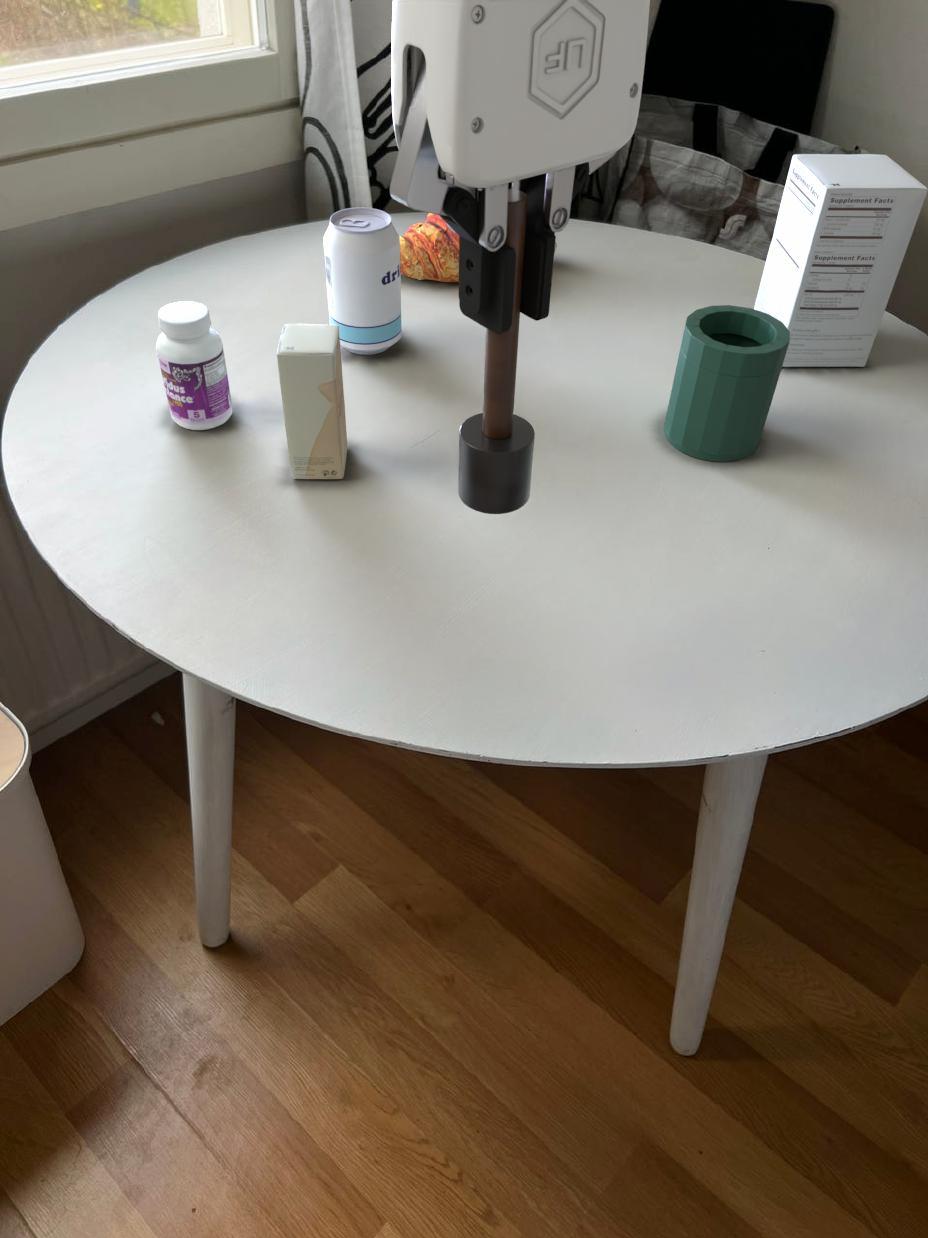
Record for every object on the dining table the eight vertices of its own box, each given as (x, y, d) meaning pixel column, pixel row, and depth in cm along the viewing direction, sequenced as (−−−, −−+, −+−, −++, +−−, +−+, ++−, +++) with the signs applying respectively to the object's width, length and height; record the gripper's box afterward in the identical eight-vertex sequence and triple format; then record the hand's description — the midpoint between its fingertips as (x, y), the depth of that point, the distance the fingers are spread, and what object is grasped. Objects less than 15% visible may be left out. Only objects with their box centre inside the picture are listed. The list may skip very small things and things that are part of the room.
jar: (739, 407, 84) (767, 303, 77) (772, 459, 78) (806, 351, 71) (652, 412, 83) (673, 306, 76) (679, 464, 77) (704, 355, 70)
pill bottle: (158, 423, 79) (133, 318, 72) (194, 394, 83) (173, 291, 76) (212, 438, 78) (192, 332, 71) (245, 407, 81) (229, 304, 75)
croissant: (543, 280, 110) (540, 207, 107) (572, 273, 100) (570, 193, 98) (367, 291, 105) (360, 216, 103) (381, 285, 96) (373, 201, 93)
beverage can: (391, 364, 88) (388, 238, 79) (322, 355, 88) (311, 229, 80) (409, 330, 93) (407, 208, 84) (343, 322, 93) (335, 200, 85)
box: (343, 481, 74) (334, 355, 66) (290, 480, 74) (274, 354, 66) (348, 444, 78) (339, 321, 70) (297, 443, 78) (283, 320, 70)
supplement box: (867, 368, 90) (933, 189, 78) (775, 369, 89) (828, 188, 77) (832, 322, 96) (888, 151, 85) (746, 323, 96) (791, 150, 84)
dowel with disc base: (522, 469, 53) (544, 177, 42) (536, 511, 50) (563, 210, 39) (453, 474, 52) (458, 180, 41) (463, 517, 50) (470, 213, 38)
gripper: (406, -185, 26) (417, 399, 38) (765, -194, 33) (673, 301, 46) (272, -201, 30) (322, 331, 43) (616, -205, 37) (570, 251, 50)
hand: (503, 313), depth 44 cm, fingers closed on dowel with disc base
